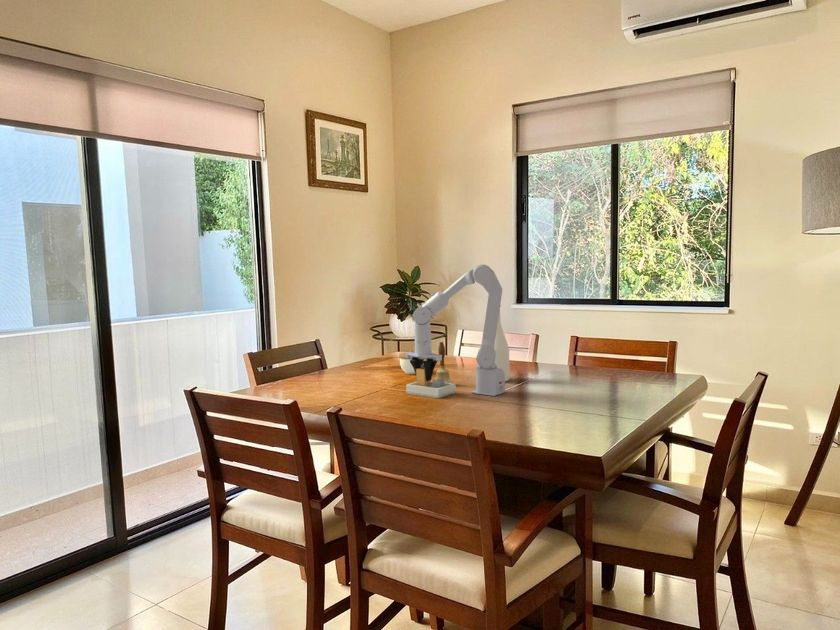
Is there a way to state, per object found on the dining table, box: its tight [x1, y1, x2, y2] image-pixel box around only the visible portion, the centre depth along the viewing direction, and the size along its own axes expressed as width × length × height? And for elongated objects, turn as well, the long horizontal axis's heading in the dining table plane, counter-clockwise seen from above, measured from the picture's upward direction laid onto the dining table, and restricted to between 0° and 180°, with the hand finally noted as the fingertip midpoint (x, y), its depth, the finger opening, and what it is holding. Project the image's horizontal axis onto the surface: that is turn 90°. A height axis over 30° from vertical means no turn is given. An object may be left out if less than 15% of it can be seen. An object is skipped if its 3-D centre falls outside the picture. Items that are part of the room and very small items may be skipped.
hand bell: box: [434, 341, 455, 384], centre depth 226 cm, size 8×8×16 cm
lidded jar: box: [398, 350, 426, 375], centre depth 252 cm, size 11×11×9 cm
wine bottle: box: [494, 304, 511, 383], centre depth 230 cm, size 10×10×30 cm
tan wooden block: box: [415, 365, 432, 386], centre depth 213 cm, size 4×4×7 cm
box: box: [405, 379, 457, 399], centre depth 212 cm, size 14×10×5 cm
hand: (424, 379), depth 214 cm, fingers closed on tan wooden block, 3 cm apart
